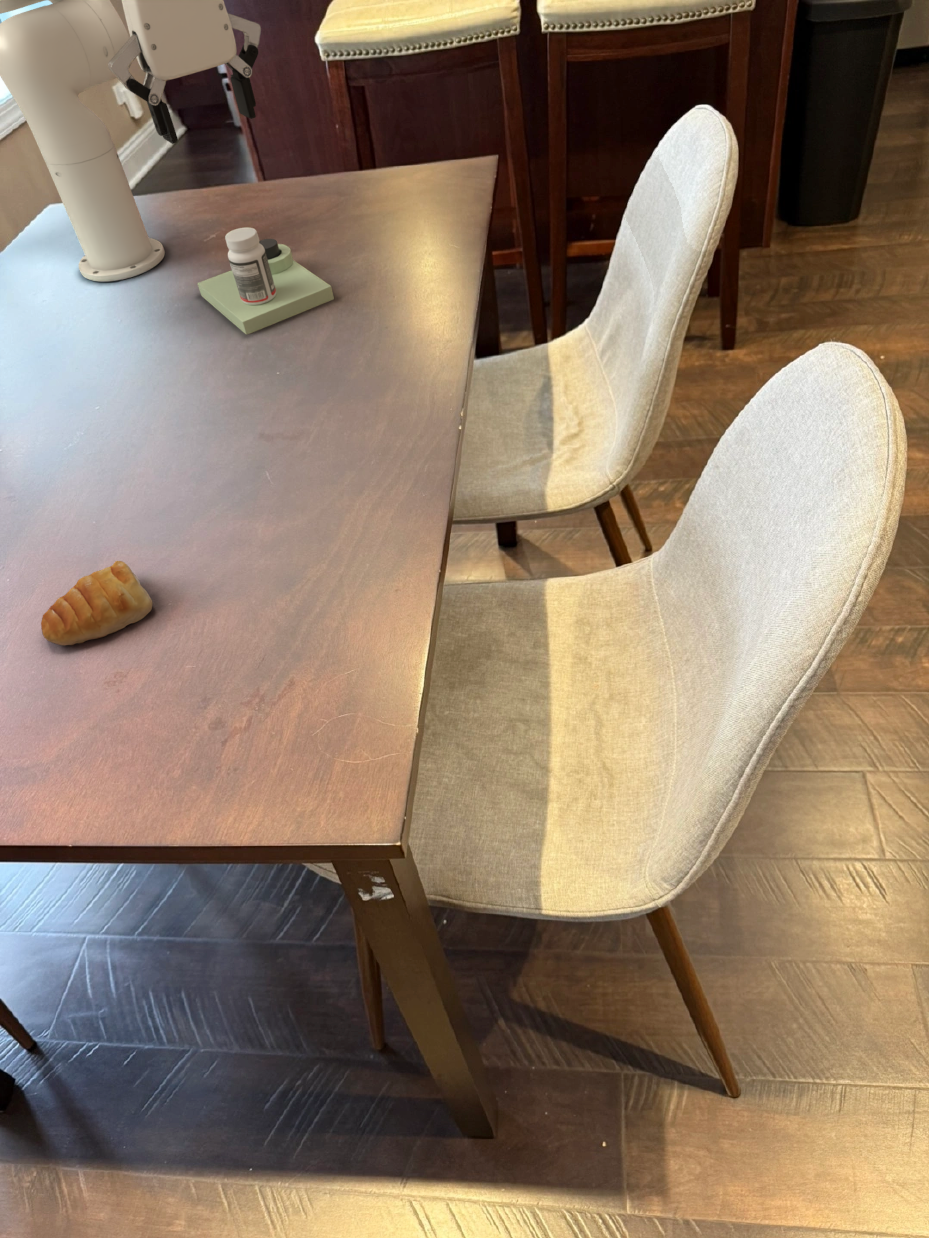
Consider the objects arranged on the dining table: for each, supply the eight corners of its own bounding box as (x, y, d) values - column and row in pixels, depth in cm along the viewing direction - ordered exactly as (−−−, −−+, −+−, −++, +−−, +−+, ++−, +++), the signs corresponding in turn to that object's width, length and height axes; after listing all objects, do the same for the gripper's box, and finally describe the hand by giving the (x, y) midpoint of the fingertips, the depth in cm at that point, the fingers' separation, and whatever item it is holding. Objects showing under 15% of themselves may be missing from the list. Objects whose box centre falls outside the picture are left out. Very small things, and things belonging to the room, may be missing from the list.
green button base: (201, 296, 120) (192, 271, 117) (284, 264, 124) (278, 240, 122) (246, 335, 111) (238, 310, 108) (334, 299, 115) (329, 274, 113)
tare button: (253, 256, 119) (250, 244, 118) (274, 249, 120) (270, 236, 119) (263, 264, 117) (260, 251, 116) (284, 256, 119) (281, 243, 117)
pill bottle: (259, 286, 116) (241, 223, 110) (284, 293, 114) (267, 229, 108) (233, 301, 113) (214, 238, 107) (259, 309, 111) (240, 244, 105)
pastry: (63, 666, 74) (42, 636, 71) (37, 625, 78) (16, 595, 75) (162, 610, 78) (146, 580, 75) (132, 573, 81) (116, 543, 79)
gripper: (219, -80, 91) (263, 100, 104) (61, -43, 86) (127, 143, 98) (249, -74, 87) (291, 113, 99) (84, -35, 81) (151, 159, 94)
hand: (210, 128), depth 99 cm, fingers open, 9 cm apart
